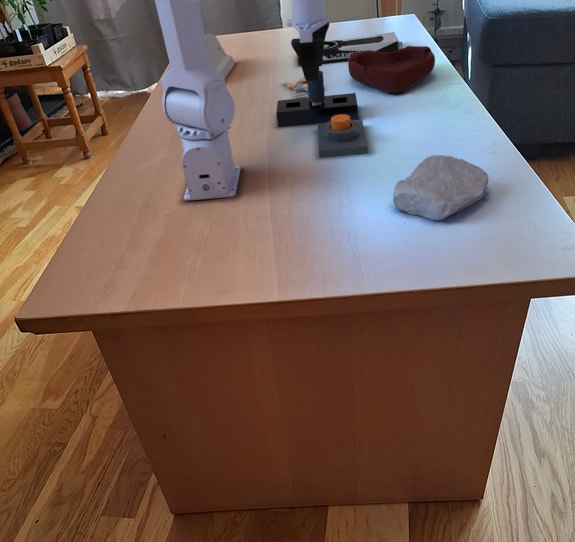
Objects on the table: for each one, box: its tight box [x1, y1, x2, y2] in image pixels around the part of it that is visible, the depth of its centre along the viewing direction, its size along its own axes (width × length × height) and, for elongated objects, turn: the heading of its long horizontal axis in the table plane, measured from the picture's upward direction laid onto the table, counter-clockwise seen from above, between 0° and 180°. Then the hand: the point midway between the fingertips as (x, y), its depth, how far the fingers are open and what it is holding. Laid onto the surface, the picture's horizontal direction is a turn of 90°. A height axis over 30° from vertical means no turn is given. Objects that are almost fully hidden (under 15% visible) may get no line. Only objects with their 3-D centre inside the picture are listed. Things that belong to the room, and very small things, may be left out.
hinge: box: [205, 33, 236, 79], centre depth 131 cm, size 17×5×10 cm, turn 172°
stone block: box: [392, 154, 489, 221], centre depth 76 cm, size 12×5×10 cm
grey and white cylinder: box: [306, 70, 326, 106], centre depth 102 cm, size 3×3×8 cm
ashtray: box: [347, 45, 436, 95], centre depth 114 cm, size 18×16×5 cm
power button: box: [331, 114, 350, 131], centre depth 93 cm, size 3×3×2 cm
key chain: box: [283, 77, 308, 97], centre depth 119 cm, size 13×7×1 cm, turn 9°
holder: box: [275, 92, 359, 128], centre depth 104 cm, size 6×15×3 cm, turn 88°
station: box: [317, 119, 369, 159], centre depth 94 cm, size 11×8×3 cm
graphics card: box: [297, 31, 403, 67], centre depth 133 cm, size 10×3×25 cm
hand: (314, 72), depth 100 cm, fingers open, 7 cm apart
